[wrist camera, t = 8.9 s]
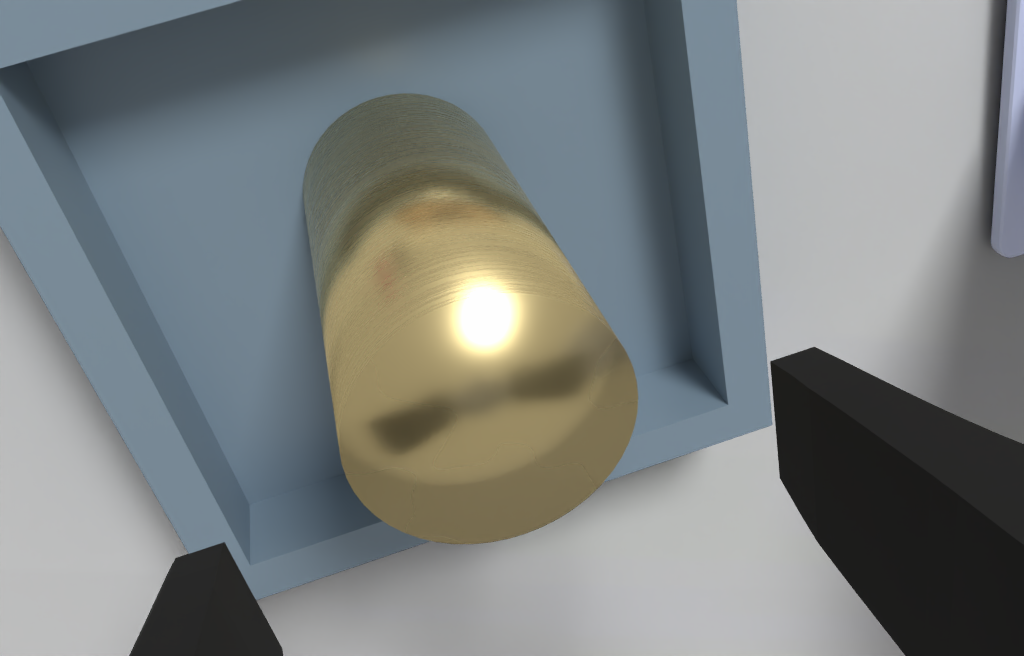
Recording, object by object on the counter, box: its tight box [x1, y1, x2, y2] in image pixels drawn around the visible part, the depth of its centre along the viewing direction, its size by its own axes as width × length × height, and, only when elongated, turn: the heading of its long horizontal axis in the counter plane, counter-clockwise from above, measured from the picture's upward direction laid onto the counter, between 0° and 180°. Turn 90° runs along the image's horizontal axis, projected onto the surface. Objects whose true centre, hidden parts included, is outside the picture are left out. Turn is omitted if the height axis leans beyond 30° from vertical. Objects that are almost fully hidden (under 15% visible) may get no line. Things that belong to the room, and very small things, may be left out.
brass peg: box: [303, 93, 638, 544], centre depth 16 cm, size 4×4×8 cm
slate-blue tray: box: [0, 0, 772, 600], centre depth 19 cm, size 13×13×3 cm
